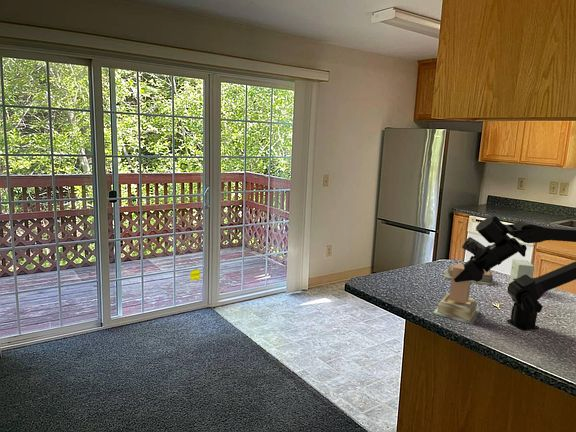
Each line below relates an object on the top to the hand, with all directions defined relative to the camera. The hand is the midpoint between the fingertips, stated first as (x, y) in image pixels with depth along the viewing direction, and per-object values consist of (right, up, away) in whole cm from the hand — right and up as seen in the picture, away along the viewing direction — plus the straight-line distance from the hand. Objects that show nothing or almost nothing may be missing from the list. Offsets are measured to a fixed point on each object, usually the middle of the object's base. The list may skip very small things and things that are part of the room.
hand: (456, 278), depth 139 cm
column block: (+1, -7, 0) cm, 7 cm away
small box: (+35, -8, +28) cm, 46 cm away
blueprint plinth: (+1, -12, +2) cm, 12 cm away
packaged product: (+19, -6, +37) cm, 42 cm away
